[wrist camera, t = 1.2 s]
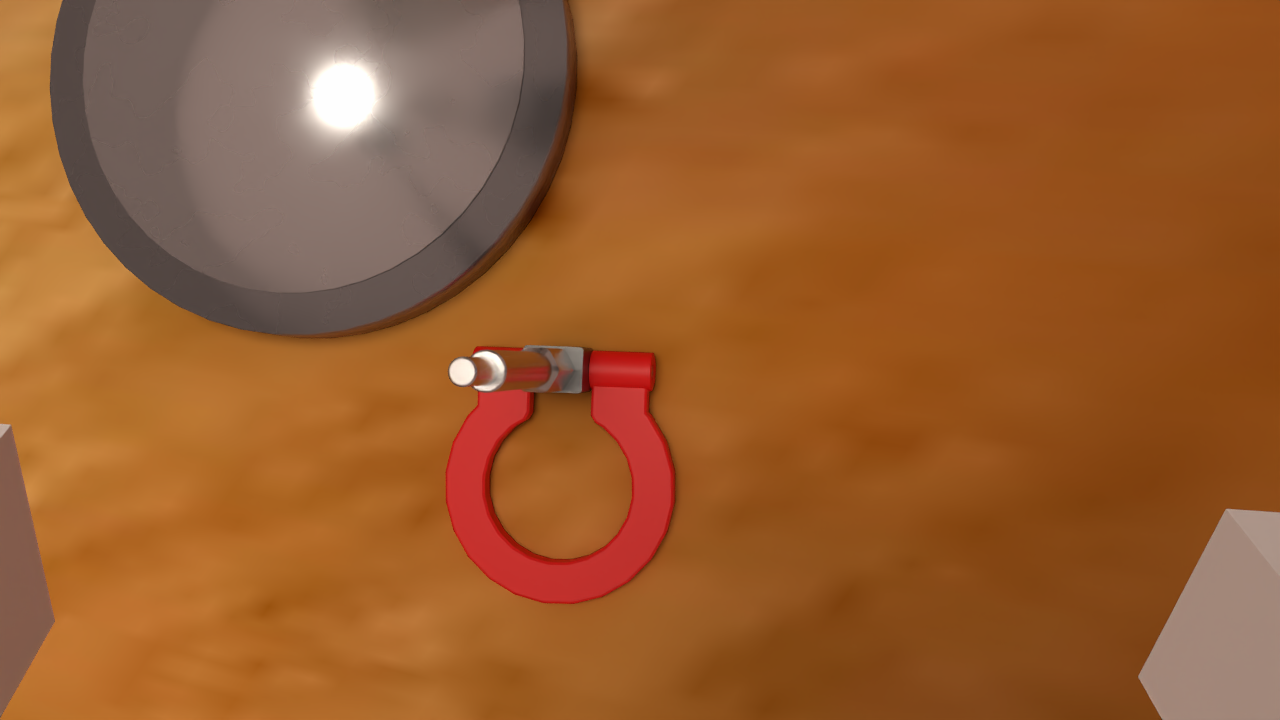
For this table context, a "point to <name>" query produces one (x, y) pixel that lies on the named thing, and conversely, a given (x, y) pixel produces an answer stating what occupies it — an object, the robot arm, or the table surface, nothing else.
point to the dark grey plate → (311, 147)
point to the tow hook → (509, 402)
